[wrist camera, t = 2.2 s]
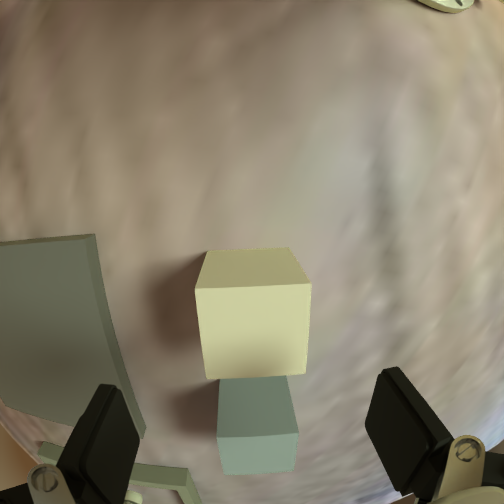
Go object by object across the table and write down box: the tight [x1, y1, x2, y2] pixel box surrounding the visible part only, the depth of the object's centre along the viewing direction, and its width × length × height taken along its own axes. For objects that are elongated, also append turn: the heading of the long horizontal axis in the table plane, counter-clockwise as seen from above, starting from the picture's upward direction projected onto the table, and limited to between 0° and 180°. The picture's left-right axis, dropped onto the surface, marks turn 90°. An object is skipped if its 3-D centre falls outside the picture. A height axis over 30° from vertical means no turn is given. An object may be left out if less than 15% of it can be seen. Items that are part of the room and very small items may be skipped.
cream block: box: [195, 247, 311, 379], centre depth 16 cm, size 5×5×6 cm
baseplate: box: [0, 234, 146, 439], centre depth 19 cm, size 18×18×2 cm
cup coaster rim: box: [37, 441, 202, 504], centre depth 26 cm, size 19×19×2 cm
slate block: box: [216, 375, 299, 475], centre depth 19 cm, size 5×5×6 cm
